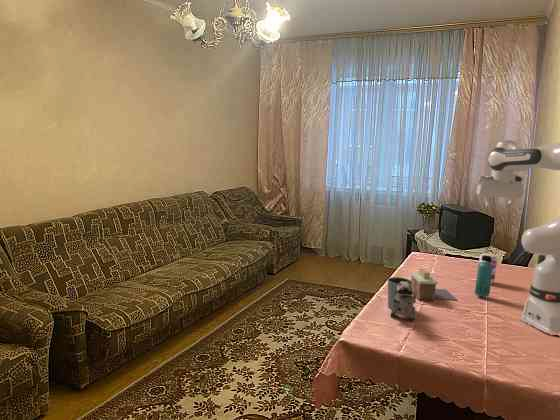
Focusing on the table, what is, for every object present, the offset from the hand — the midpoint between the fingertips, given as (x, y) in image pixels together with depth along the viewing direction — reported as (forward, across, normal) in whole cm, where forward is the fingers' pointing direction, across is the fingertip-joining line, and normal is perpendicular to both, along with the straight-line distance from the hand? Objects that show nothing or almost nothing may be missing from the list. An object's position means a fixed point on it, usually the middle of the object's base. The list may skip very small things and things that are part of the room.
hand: (497, 206), depth 204 cm
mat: (+43, -23, -3) cm, 49 cm away
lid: (+35, -33, -6) cm, 48 cm away
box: (+43, -33, -6) cm, 54 cm away
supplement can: (+43, +9, +20) cm, 48 cm away
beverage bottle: (+43, -4, -3) cm, 43 cm away
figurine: (+43, -50, -35) cm, 75 cm away
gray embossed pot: (+43, -48, -22) cm, 68 cm away
